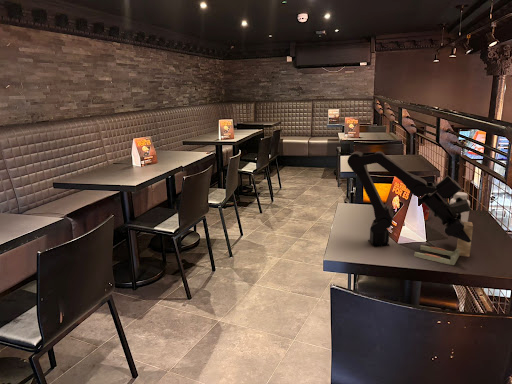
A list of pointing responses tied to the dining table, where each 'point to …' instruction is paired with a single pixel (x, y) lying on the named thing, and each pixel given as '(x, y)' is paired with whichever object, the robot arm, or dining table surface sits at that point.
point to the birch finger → (464, 245)
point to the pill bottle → (464, 196)
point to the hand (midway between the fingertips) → (468, 237)
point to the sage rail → (451, 261)
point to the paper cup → (425, 211)
